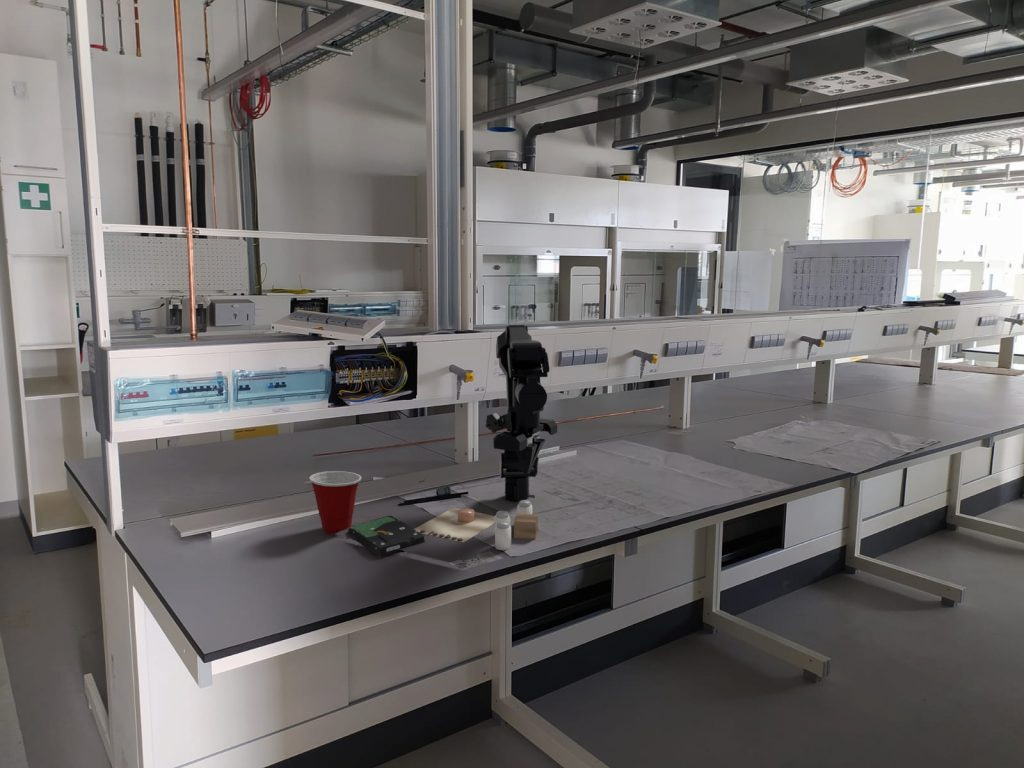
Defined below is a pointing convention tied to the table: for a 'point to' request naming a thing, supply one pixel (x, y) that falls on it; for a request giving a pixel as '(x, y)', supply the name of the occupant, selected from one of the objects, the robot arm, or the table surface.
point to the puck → (466, 515)
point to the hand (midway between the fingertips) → (526, 473)
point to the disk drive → (385, 535)
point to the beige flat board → (455, 526)
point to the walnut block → (526, 526)
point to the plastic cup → (335, 498)
